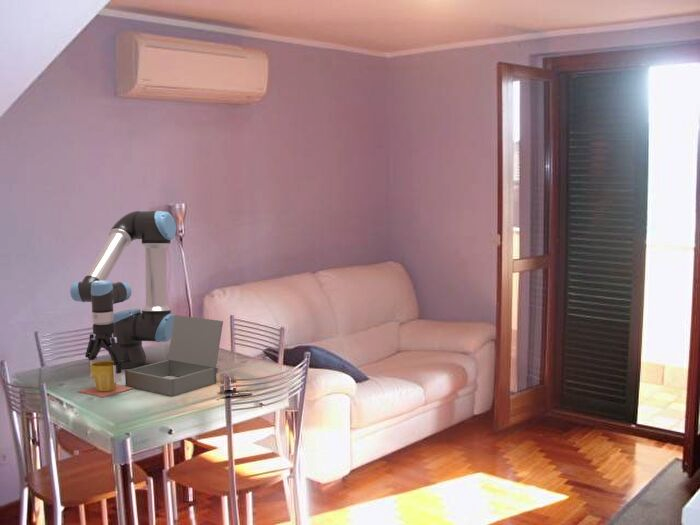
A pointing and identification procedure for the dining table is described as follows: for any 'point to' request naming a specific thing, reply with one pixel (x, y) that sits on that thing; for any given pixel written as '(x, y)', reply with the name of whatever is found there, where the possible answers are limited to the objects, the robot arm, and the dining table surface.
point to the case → (182, 359)
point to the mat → (102, 394)
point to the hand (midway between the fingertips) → (105, 379)
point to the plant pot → (103, 375)
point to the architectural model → (233, 380)
